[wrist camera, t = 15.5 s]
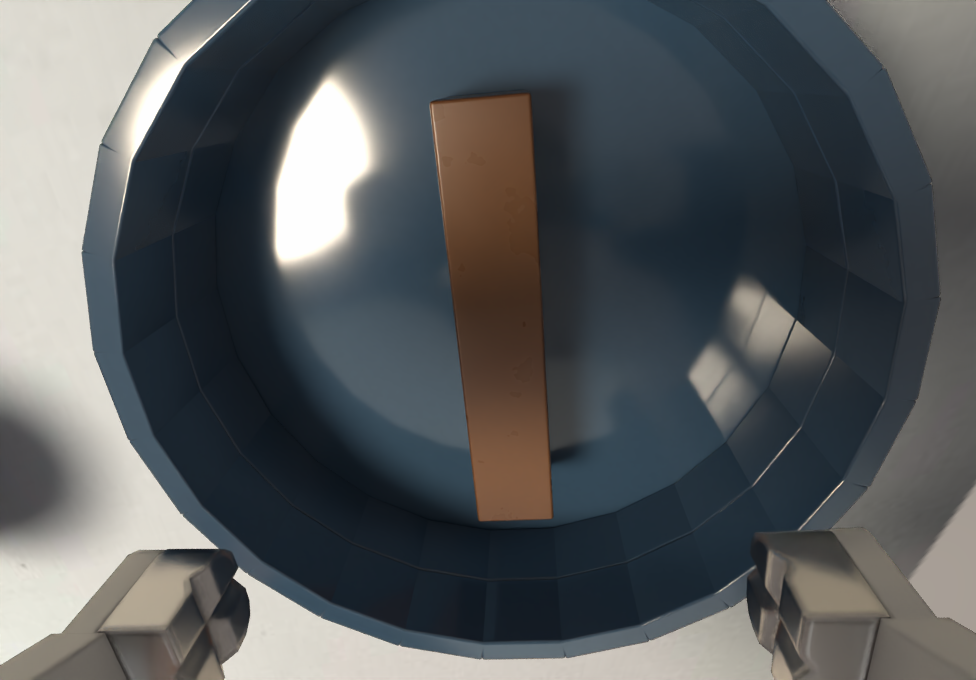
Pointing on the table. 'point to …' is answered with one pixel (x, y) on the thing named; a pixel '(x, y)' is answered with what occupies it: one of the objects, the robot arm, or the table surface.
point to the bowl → (565, 299)
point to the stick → (497, 296)
